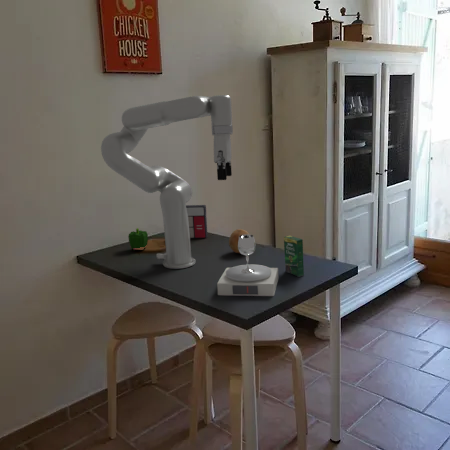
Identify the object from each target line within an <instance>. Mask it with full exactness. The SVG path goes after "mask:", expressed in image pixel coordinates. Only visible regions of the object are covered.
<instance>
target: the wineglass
mask: <svg viewBox="0 0 450 450" xmlns="http://www.w3.org/2000/svg"><path fill="white" fill-rule="evenodd" d="M256 247H257V246H256V241H255V236H254V235H253V234H250V233H249V234H245V235H240V236H239V240H238V250H239V252H240V253H239V254H241V255H243V256H245V260H246V265H247V268H246V269H244V270H242V271H241V272H242V273H253V272H255V270H253V269H249V266H248V264H249V259H250V257H249V256H250V255H253V254H254V253H255V250H256Z"/></svg>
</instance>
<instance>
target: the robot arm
mask: <svg viewBox="0 0 450 450" xmlns="http://www.w3.org/2000/svg"><path fill="white" fill-rule="evenodd" d="M232 109H233V108H232V99H231V96H230V95H228V94H220V95H219V94H218V95H212V96H209V95H207V96H205V95H192V96H186V97H182V98H178V99H172V100H167V101H158V102H153V103H148V104H144V105H138V106H133V107H130V108H127V109H126V110H124V111H123V113H122V115H121V123H122V125H123V127H122V128H121V129H120V131H117V132H112V133H109V134H108V135H106V136H105V137H104V138H103V139H102V142H101V146H100V150H101V151H100V152H101V156H102V159H103V160H104V162H105V164H106V165H107V166H108V167H109V168H110V169H111V170H112V171H114V172H115V173H116V174H118V175H120V176H122V177H123V178H125V179H126V180H128V182H131V183H132V184H133V185H135V186H136V187H138V188H140V189H141V190H142V191H144V192H146V193H148V194H149V193H150V194H151V193H152V194H153V193H156V192H159V193H160V194H159V205H160V209H161V213H162V221H163V222H162V223H163V228H164V229H163V231H164V232H163V233H164V239H165V240H164V242H165V252H164V253H156V259H157V261H158V260H160V261H161V260H163V261H162V265H163V267H164V268H167V269H186V268H189V267H192V266H194V265H195V264H196V259H195V258H194V257H193V256H192V251H191V250H192V248H191V238H190V234H189V222H188V214H187V209H186V205H187V203H188V202H189V201H190V200H191V198H192V197H193V189H192V186H191V184H189V182H188V181H186V180H185V179H183V178H182V177H180V176H178V175H177V174H175V173H174V172H173V171H171V170H169V169H167V168H166V167H164V166H161V165H152V166H149V165H147V164H145V163H144V162H142V161H140V160H139V159H137V158H135V157H134V156H131V155H130V154H129V153H131V152H133V150H135V148H136V147H137V146H138V144H139V143H140V141H141V140H142V139H143V137H144V136H145V134H146V132H147V131H148V129H153V128H158V127H163V126H168V125H171V124H173V123H177V122H182V121H187V120H193V119H199V118H204V117H205V118H206V117H210V121H211V125H210V126H211V136H213V162H214V163H215V164H216V173H217V176H216V177H217V181H226V180H227V177H232V176H233V175H232V174H233V173H232V171H233V170H232V161H231V160H232V141H231V140H232V138H231V135H233V134H234V131H233V129H234V128H233V111H232Z"/></svg>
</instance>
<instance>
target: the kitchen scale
mask: <svg viewBox="0 0 450 450" xmlns="http://www.w3.org/2000/svg"><path fill="white" fill-rule="evenodd" d="M248 266H249V269H253V270H255V272H253V273H242V272H241V271H242V270H244V269H246V268H247V264H241V265H235V266H233V267H226V268H225V270H224V272H223V273H222V274H221V277H220V278H219V280H218V282H217V283H216V286H217V296H240V297H241V296H243V297H244V296H248V297H250V296H251V297H253V296H254V297H274V296H275V294H276V290H277V287H278V286H277V285H278V282H279V267H269V266H266V265H261V264H249V263H248Z"/></svg>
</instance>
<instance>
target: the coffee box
mask: <svg viewBox="0 0 450 450" xmlns="http://www.w3.org/2000/svg"><path fill="white" fill-rule="evenodd" d="M303 241H304V240H303V239H302V238H299V237H295V236H292V235H287V236H283V247H284V249H283V251H284V267H285V272H286V273H288V274H291V275H293V276H296V277H298V278H299V277H303V276H304V275H305V274H304V273H305V271H304V270H305V265H304V242H303Z"/></svg>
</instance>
